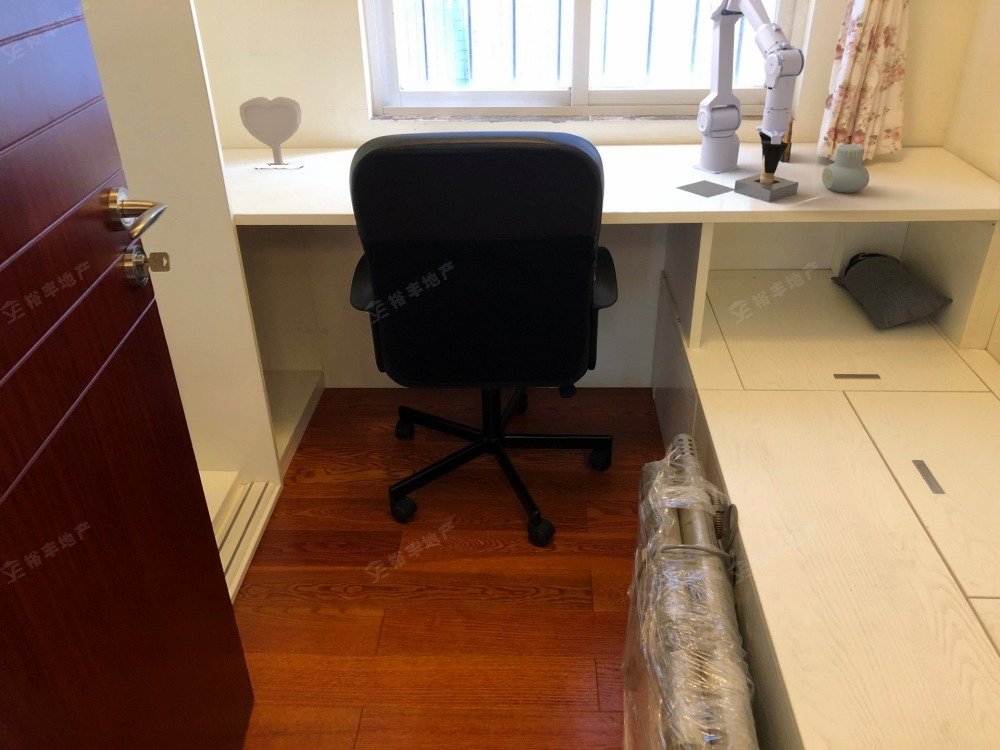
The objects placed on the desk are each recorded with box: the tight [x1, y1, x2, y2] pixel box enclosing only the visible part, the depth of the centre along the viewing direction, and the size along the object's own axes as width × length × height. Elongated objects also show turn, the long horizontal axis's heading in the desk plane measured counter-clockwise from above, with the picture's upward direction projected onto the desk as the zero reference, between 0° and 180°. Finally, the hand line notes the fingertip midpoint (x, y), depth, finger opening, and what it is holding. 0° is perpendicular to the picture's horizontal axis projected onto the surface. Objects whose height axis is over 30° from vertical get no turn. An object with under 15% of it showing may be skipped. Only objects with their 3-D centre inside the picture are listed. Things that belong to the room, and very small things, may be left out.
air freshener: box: [821, 143, 870, 194], centre depth 185 cm, size 11×8×10 cm
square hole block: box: [733, 173, 799, 203], centre depth 185 cm, size 10×10×3 cm
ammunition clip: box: [779, 114, 794, 163], centre depth 211 cm, size 11×2×12 cm, turn 4°
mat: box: [675, 179, 734, 198], centre depth 190 cm, size 10×10×1 cm
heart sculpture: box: [239, 96, 302, 166], centre depth 212 cm, size 16×5×18 cm, turn 85°
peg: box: [760, 155, 776, 186], centre depth 184 cm, size 3×3×9 cm
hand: (768, 168), depth 183 cm, fingers open, 7 cm apart
